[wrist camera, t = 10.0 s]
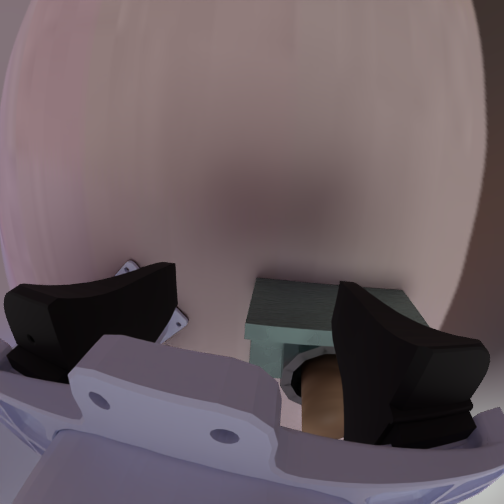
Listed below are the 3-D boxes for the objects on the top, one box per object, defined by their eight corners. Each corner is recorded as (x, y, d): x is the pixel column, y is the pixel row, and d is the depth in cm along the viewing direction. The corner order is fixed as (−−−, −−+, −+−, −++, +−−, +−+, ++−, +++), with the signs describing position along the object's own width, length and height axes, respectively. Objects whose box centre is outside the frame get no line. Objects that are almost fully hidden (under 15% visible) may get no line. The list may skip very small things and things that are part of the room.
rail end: (317, 377, 24) (322, 446, 16) (291, 354, 23) (290, 425, 16) (352, 356, 23) (369, 424, 15) (328, 330, 22) (341, 401, 15)
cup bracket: (371, 376, 25) (385, 424, 19) (249, 369, 26) (239, 421, 20) (402, 290, 22) (433, 333, 15) (256, 277, 23) (245, 323, 17)
